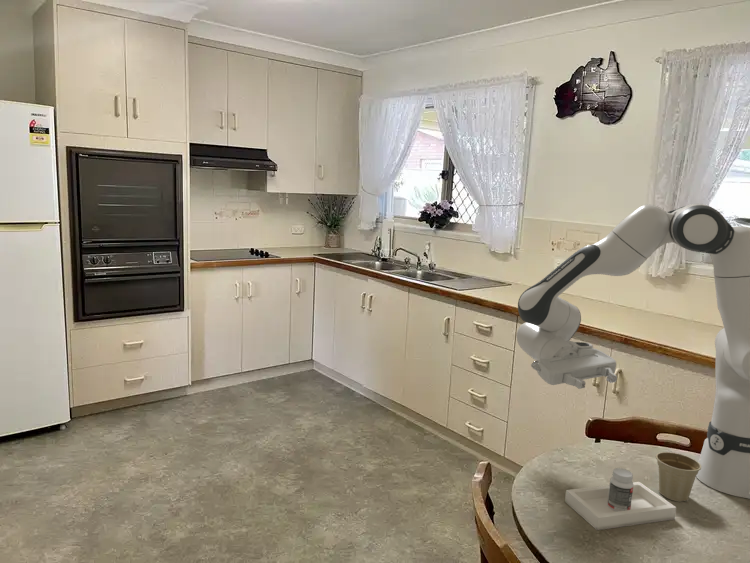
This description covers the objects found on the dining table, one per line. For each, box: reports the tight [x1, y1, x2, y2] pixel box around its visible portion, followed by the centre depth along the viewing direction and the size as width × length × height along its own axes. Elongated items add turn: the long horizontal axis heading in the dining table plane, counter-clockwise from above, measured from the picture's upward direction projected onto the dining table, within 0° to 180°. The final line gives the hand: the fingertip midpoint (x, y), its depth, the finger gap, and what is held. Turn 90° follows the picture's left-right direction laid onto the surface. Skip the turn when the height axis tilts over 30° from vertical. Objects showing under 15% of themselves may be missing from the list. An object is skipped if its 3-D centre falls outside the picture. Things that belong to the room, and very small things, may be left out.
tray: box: [564, 481, 677, 531], centre depth 123 cm, size 20×11×3 cm, turn 106°
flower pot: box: [655, 451, 701, 503], centre depth 130 cm, size 9×9×9 cm
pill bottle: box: [607, 467, 634, 512], centre depth 122 cm, size 5×5×8 cm
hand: (598, 382), depth 132 cm, fingers open, 8 cm apart
